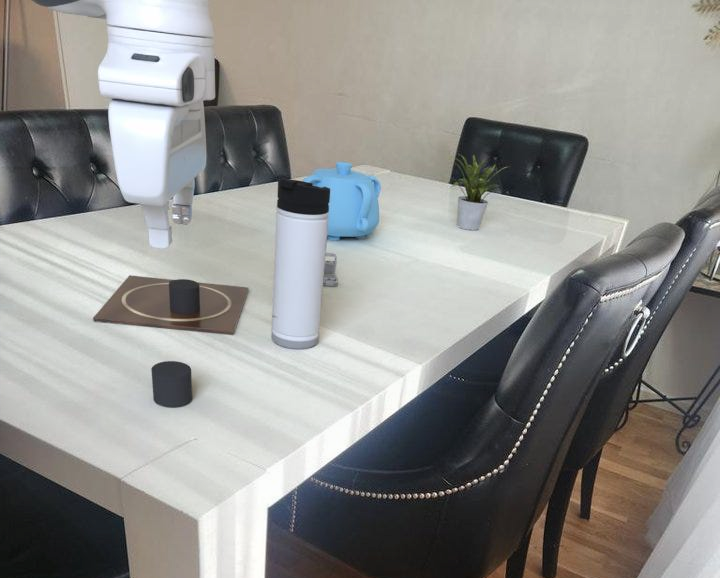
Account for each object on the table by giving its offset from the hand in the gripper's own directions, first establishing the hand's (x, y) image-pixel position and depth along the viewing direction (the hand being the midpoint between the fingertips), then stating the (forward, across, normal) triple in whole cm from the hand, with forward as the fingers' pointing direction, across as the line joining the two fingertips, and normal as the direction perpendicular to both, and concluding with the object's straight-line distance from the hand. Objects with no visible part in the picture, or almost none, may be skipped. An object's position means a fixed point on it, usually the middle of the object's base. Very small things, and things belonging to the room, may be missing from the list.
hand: (172, 234), depth 65 cm
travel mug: (+16, -14, +12) cm, 25 cm away
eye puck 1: (+15, -20, -4) cm, 25 cm away
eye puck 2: (+16, +5, 0) cm, 17 cm away
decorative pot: (+16, -73, +17) cm, 77 cm away
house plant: (+16, -94, +46) cm, 106 cm away
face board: (+16, -23, -5) cm, 28 cm away
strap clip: (+16, -42, +15) cm, 48 cm away
